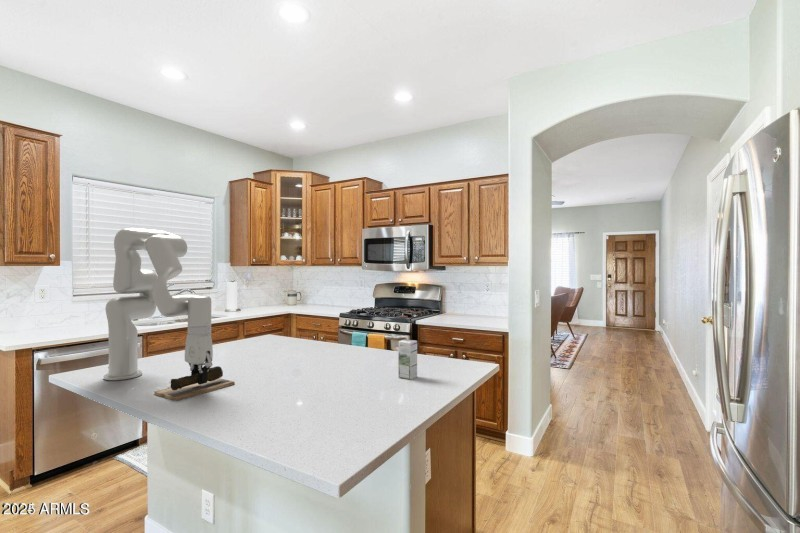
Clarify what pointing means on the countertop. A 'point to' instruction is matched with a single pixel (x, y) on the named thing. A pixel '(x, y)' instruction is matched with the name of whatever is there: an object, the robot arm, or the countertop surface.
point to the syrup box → (407, 359)
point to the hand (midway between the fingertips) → (199, 382)
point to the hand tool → (196, 378)
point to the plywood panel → (193, 389)
